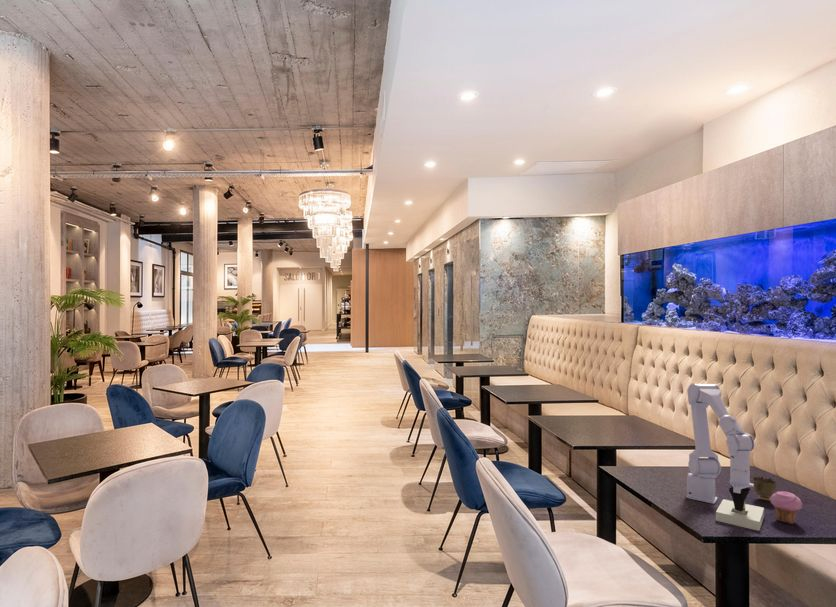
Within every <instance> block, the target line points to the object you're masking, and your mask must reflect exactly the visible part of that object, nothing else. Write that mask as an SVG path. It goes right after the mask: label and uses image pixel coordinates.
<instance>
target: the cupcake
mask: <svg viewBox="0 0 836 607" xmlns="http://www.w3.org/2000/svg"><path fill="white" fill-rule="evenodd" d="M770 503H771V504H772V505H773V506H774V513H775V515H774V517H775V519H776V520H777V521H779V522H782V523H787V524H791V525H793V524H794V523H795V519H796V518H797V514H798V512H799V510H802V509H803V503H802V500H801V499H800V497H798V496H797V495H796V494H794V493H792V492H788V491H775V493H774V494H773V495H772V496H771V497H770Z"/></svg>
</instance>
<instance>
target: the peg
mask: <svg viewBox="0 0 836 607" xmlns="http://www.w3.org/2000/svg"><path fill="white" fill-rule="evenodd" d="M745 504H746V502H744V508H743V511H738V510H735V513H739V514H744V515H745Z"/></svg>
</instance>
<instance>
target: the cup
mask: <svg viewBox="0 0 836 607" xmlns="http://www.w3.org/2000/svg"><path fill="white" fill-rule="evenodd" d="M752 480H753V484H754V487H753V488H754V491H755V493H756V494H757V495H758V498H759V500H760V501H764V502H769V501H770V502H771V496H772V495H773V494H775V493H776V489H777V488H776V486H777V480H775V481H774V479H772V478H771V477H769V478H767V476H766V477H765V478H764V477H763V476H759V475H758V476H753V477H752Z"/></svg>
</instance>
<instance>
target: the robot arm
mask: <svg viewBox="0 0 836 607" xmlns="http://www.w3.org/2000/svg"><path fill="white" fill-rule="evenodd" d="M686 392H687V399H688V400H687V401H688V405H690V409H691V410H690V411H691V420H692V426H693V427H692V429H693V438H694V447H695V449H694V450H693V451H691V452H690V453H689V454H688V466H687V467H688V470H689V471H690V472H688V473H687V476H686V496H685V497H686V498H687V499H690V500H693V501H694V500H695V501H699V502H704V503H708V504H712V505H713V504H714V505H715V503H717V500H718V499H719V498H718V496H716V478H718V475H720V473H721V470H722V465H721V463H720V460H719V457H718V456H719V455H718V454H716V452H714V451H713V450H712V447H711V439H710V430H709V422H708V413H707V412H708V411H707V408H708V407H711V409H712V410H713V412H714V413H715V415H716V416H717V418H718V419H719V420H718V426H719V427H720V428H721V430H722V432H723V434H724V435H725V437H726V441H725V442H726V446H727V450H728V455H729V456H730V458H729V460H730V461H729V464H730V467H729V469H730V470H729V471H730V472H729V484H730V487H729V488H728V491H729V493H730V495H731V498H732V501H733V502H734V507H735V510H738V511H743V508H744V502H745V503H746V500H747V496H748V495H749V492H750V490H751V488H754V483H751V482H750V480H751V477H750V476H751V472H750V471H751V468H750V467H751V452H752V451H753V450H754V448H755V440H754V439H753V436H752V435H751V434H749V433H747V432H746V431H744V430H743V429H742V427H741V425H740V423H739V422H738V421H737V419H736V417H734V416H733V415H730V414H729V411H728V410H727V408H726V406H725V404H724V402H723V400H722V391H721V388H720V387H719V385H718V384H717V383H691V384H689V386H688V387H687V391H686Z"/></svg>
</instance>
